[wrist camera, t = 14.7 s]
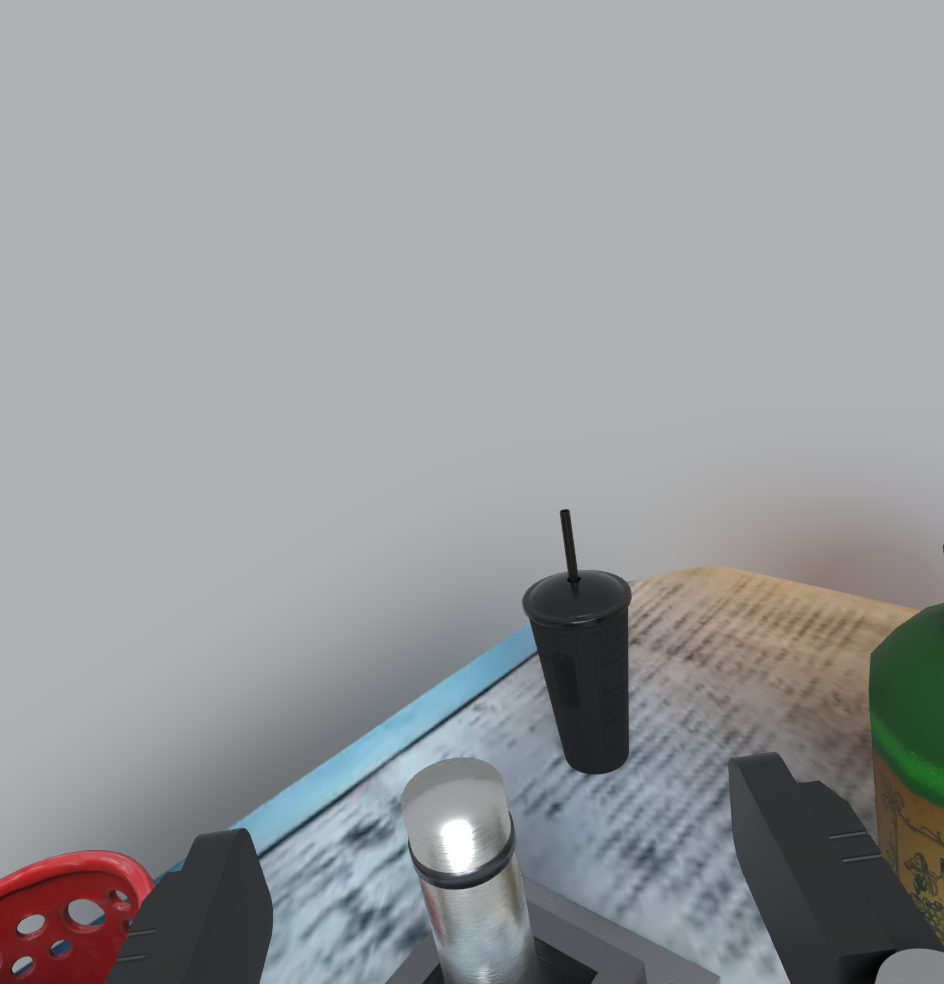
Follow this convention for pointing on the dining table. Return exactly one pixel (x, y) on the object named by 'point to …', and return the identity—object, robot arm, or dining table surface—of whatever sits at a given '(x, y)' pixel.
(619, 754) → the drinking cup
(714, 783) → the dining table surface
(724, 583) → the dining table surface
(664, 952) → the collar
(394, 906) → the dining table surface
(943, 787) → the bottle
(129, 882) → the plant pot
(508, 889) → the steel tube
